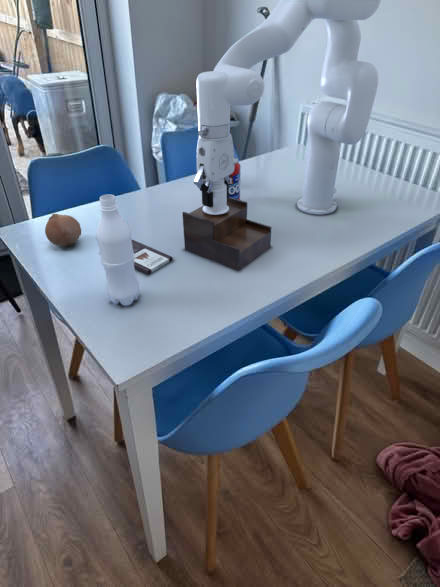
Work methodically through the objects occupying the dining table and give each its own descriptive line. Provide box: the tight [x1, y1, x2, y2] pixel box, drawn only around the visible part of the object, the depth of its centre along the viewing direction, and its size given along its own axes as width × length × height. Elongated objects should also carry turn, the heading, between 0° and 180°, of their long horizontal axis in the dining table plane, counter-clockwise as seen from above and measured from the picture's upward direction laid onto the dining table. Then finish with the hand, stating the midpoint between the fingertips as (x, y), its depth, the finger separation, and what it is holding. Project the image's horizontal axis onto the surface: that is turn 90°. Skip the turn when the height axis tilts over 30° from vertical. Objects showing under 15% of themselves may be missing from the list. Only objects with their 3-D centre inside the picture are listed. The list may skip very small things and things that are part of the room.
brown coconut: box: [44, 213, 82, 248], centre depth 117 cm, size 10×9×10 cm
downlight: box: [203, 178, 229, 215], centre depth 110 cm, size 8×7×10 cm
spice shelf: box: [181, 197, 273, 272], centre depth 113 cm, size 15×18×11 cm
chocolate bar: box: [132, 239, 173, 276], centre depth 113 cm, size 9×1×18 cm
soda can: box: [229, 157, 242, 200], centre depth 135 cm, size 8×8×15 cm
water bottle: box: [95, 193, 140, 307], centre depth 91 cm, size 7×7×25 cm
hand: (215, 201), depth 111 cm, fingers closed on downlight, 5 cm apart
